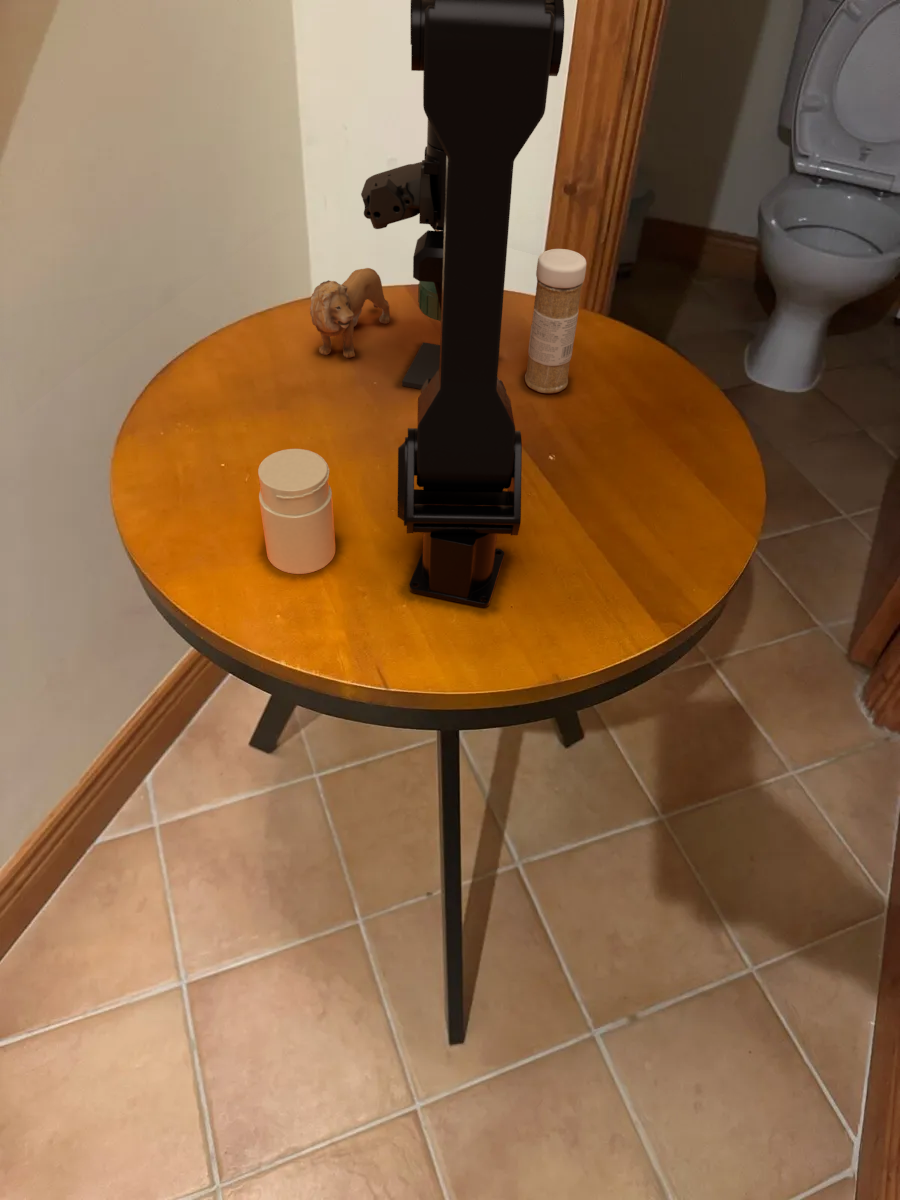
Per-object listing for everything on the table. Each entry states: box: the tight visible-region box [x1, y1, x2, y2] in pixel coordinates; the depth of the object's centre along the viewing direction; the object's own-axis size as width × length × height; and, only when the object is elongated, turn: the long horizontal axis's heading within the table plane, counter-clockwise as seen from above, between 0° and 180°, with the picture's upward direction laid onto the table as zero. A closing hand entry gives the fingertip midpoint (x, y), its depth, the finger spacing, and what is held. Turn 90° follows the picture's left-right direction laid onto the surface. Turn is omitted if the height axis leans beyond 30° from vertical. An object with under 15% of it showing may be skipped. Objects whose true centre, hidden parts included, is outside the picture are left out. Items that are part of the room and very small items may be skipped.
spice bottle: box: [524, 248, 587, 394], centre depth 89 cm, size 5×5×13 cm
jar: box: [257, 448, 337, 575], centre depth 71 cm, size 6×6×8 cm
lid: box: [417, 281, 441, 322], centre depth 88 cm, size 6×6×3 cm
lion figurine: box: [309, 267, 391, 359], centre depth 95 cm, size 15×5×9 cm, turn 164°
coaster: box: [401, 342, 440, 390], centre depth 94 cm, size 8×8×1 cm
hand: (452, 309), depth 89 cm, fingers closed on lid, 6 cm apart
